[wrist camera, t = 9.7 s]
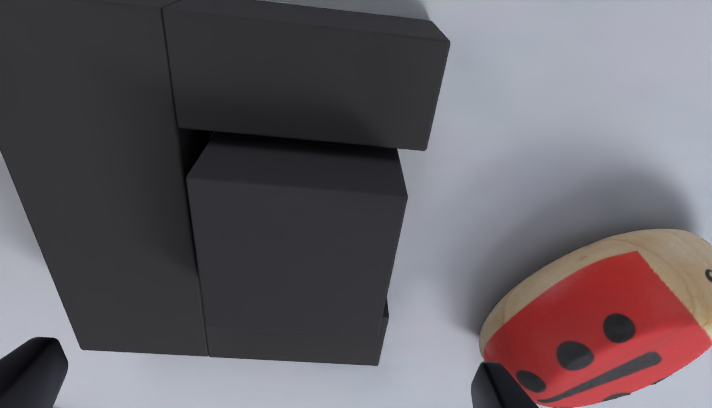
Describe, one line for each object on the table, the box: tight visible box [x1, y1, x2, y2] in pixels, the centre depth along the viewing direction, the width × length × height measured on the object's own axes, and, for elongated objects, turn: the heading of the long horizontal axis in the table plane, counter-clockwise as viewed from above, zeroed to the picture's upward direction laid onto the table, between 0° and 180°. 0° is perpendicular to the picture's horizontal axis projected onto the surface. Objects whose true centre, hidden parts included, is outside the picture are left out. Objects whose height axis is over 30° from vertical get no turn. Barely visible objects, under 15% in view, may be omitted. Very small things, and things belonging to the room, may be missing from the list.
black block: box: [186, 132, 408, 337], centre depth 13 cm, size 5×5×4 cm
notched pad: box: [0, 0, 450, 366], centre depth 13 cm, size 11×12×2 cm
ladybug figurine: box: [479, 229, 712, 408], centre depth 16 cm, size 7×10×4 cm
